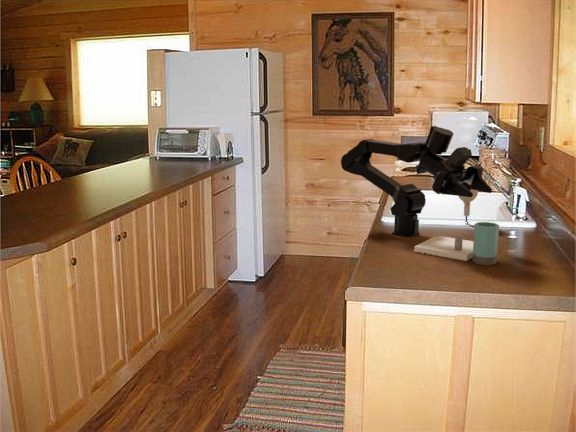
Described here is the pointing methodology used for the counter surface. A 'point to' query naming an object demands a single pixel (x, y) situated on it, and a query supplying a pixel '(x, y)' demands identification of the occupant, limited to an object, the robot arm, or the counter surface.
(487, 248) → the teal faceted cylinder
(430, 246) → the pin board
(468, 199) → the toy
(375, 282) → the counter surface
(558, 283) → the counter surface
